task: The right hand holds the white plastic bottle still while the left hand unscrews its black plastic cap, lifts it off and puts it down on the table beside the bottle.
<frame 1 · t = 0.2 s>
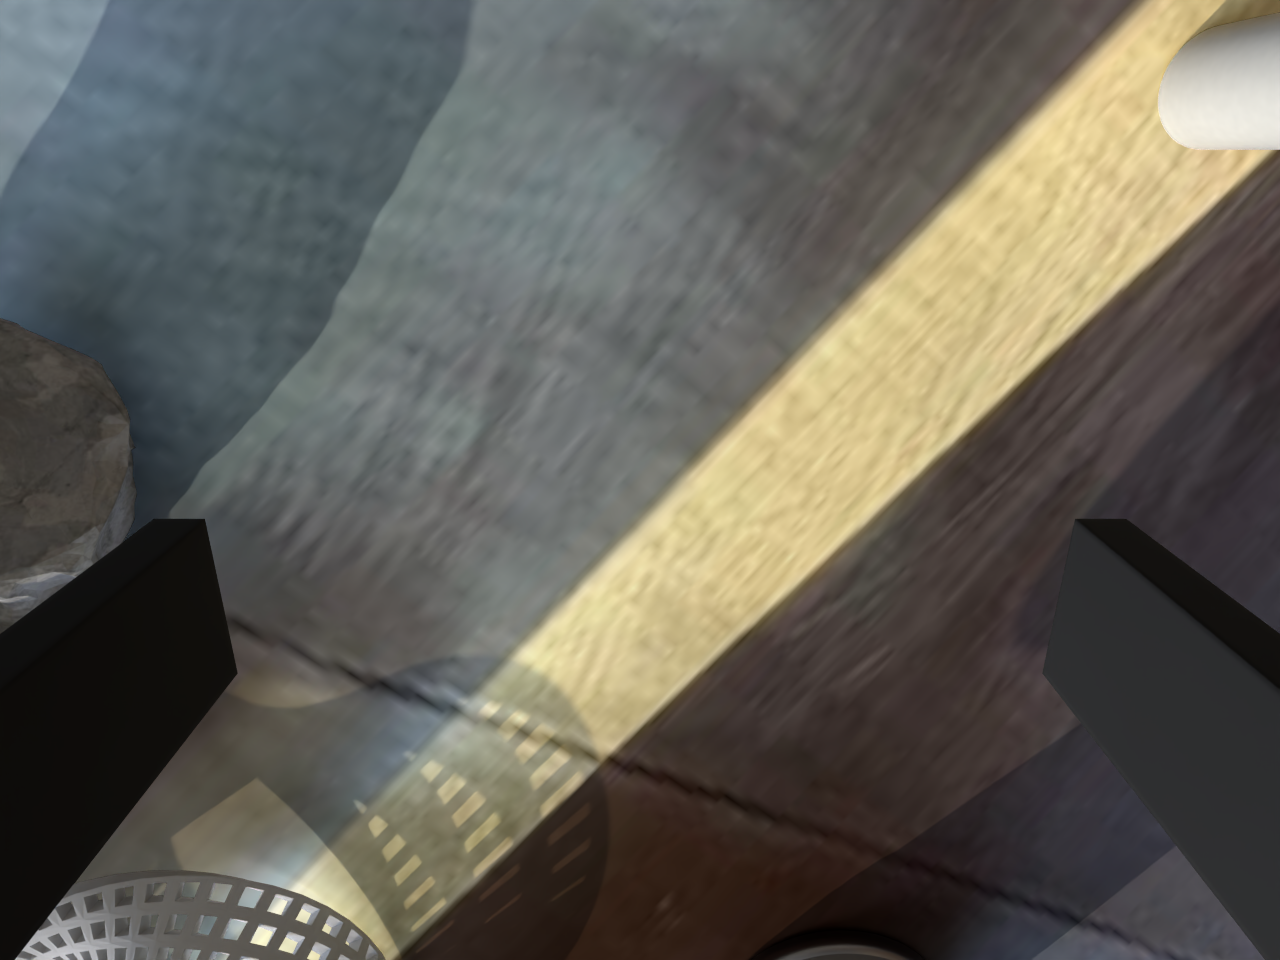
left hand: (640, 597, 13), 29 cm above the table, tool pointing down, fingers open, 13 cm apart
bottle: (1215, 88, 36), on the table
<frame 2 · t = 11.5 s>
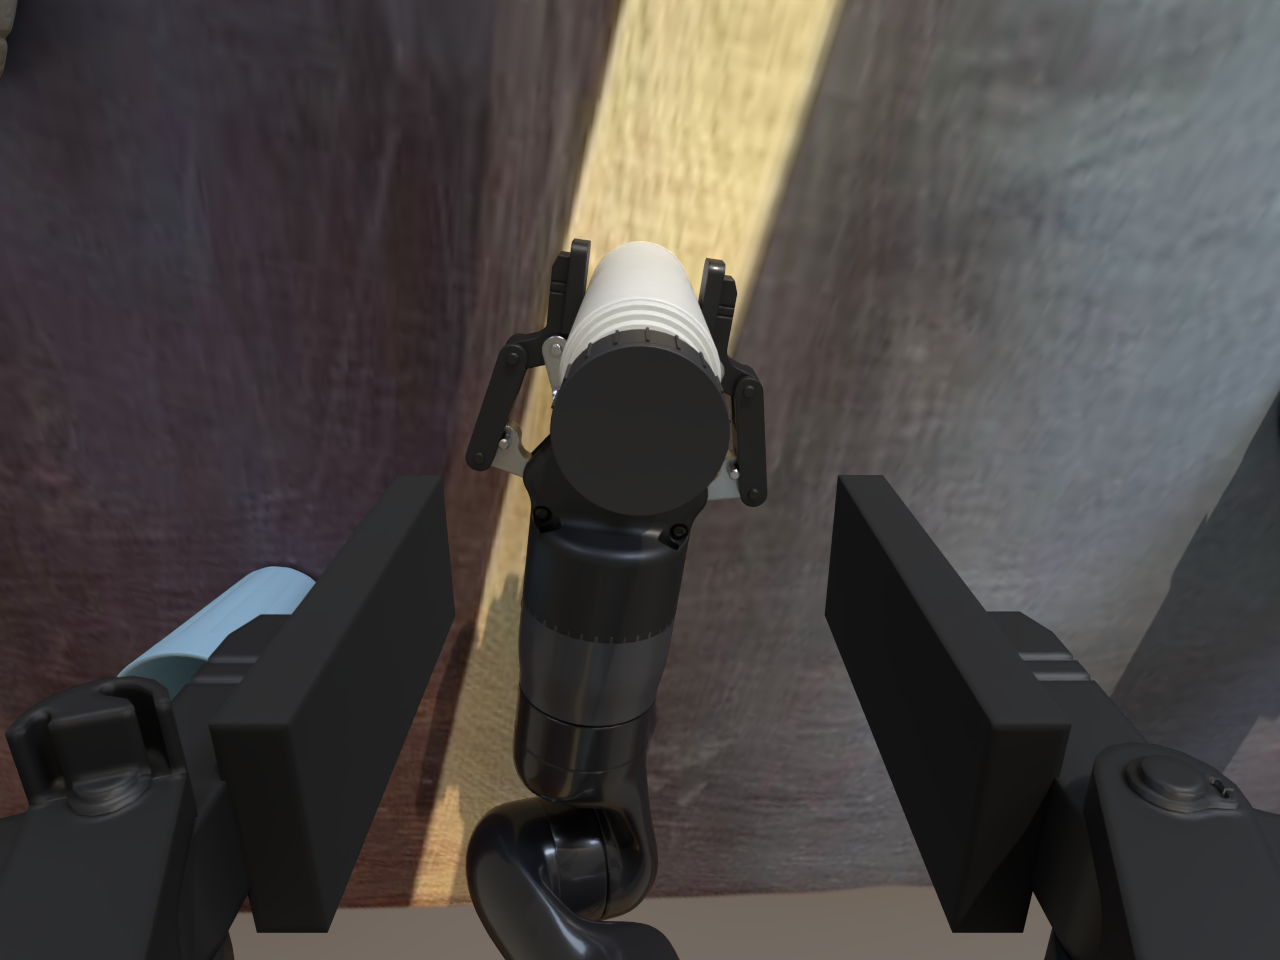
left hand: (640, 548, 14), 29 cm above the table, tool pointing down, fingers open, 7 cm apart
right hand: (647, 252, 34), fingers closed on bottle, 5 cm apart
cap: (640, 430, 20), point 22 cm above the table, screwed on, not yet turned
bottle: (639, 292, 41), on the table, touching right hand
cup: (285, 606, 47), on the table
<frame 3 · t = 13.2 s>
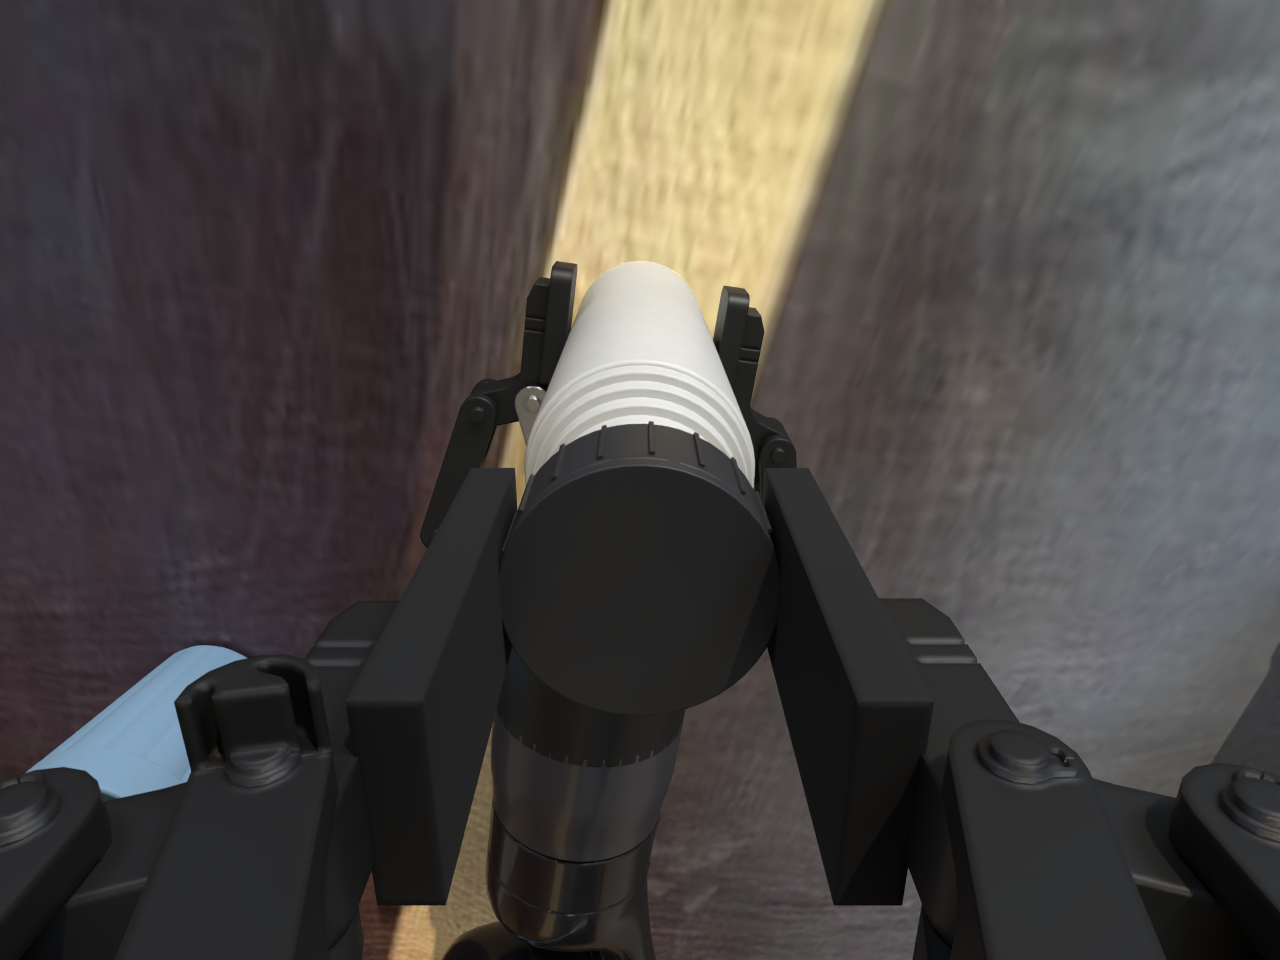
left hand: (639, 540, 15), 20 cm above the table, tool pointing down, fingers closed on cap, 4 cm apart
right hand: (650, 280, 27), fingers closed on bottle, 5 cm apart
cap: (639, 589, 13), point 22 cm above the table, screwed on, not yet turned, touching left hand
bottle: (639, 323, 33), on the table, touching right hand
cup: (219, 689, 40), on the table
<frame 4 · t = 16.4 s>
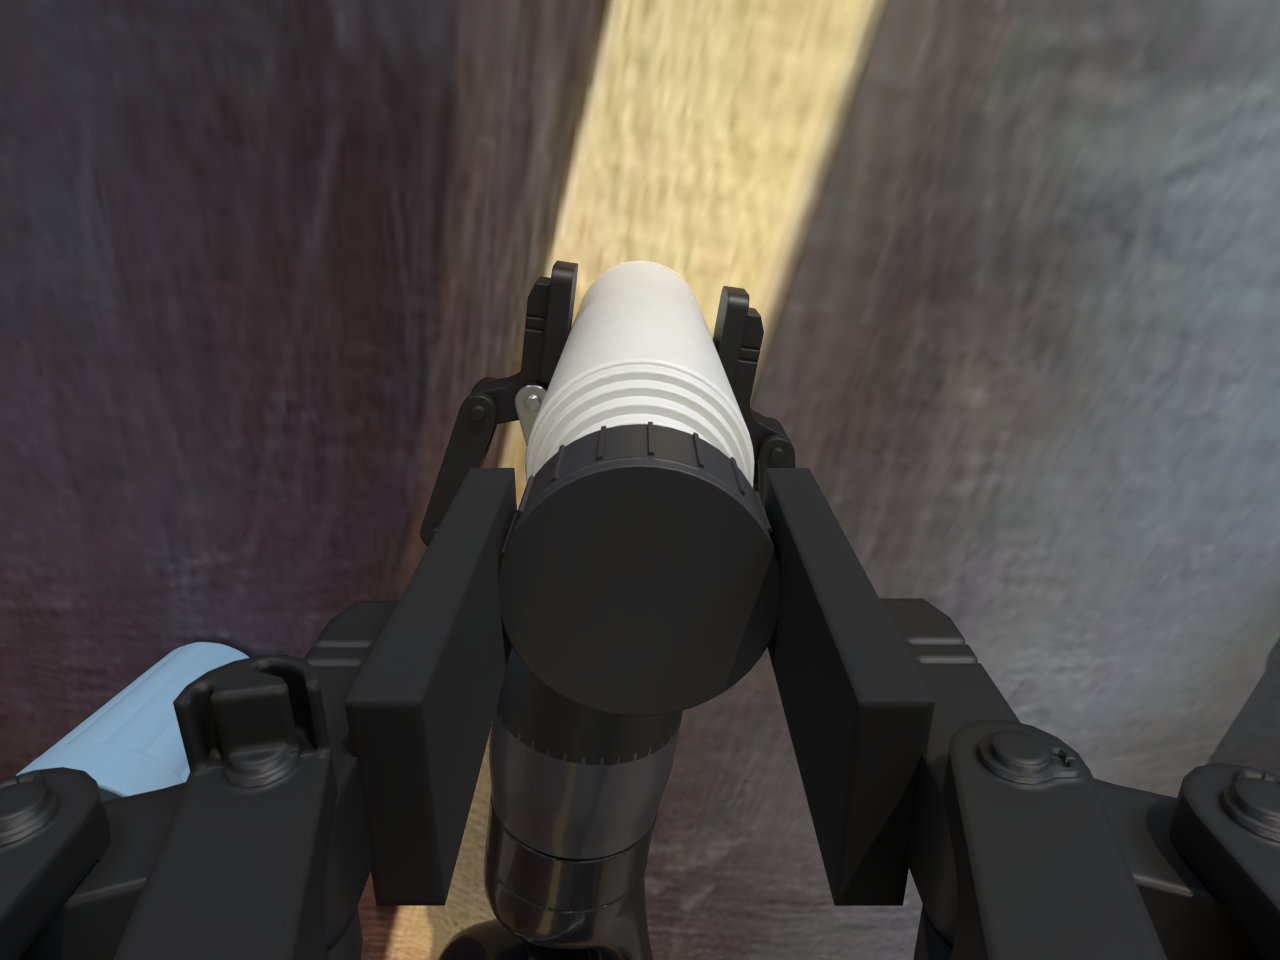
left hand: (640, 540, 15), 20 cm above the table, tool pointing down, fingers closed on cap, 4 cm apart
right hand: (650, 279, 27), fingers closed on bottle, 5 cm apart
cap: (639, 589, 13), point 22 cm above the table, turned 101° so far, risen 0.1 cm, still on its thread, touching left hand
bottle: (639, 323, 34), on the table, touching right hand
cup: (217, 686, 40), on the table
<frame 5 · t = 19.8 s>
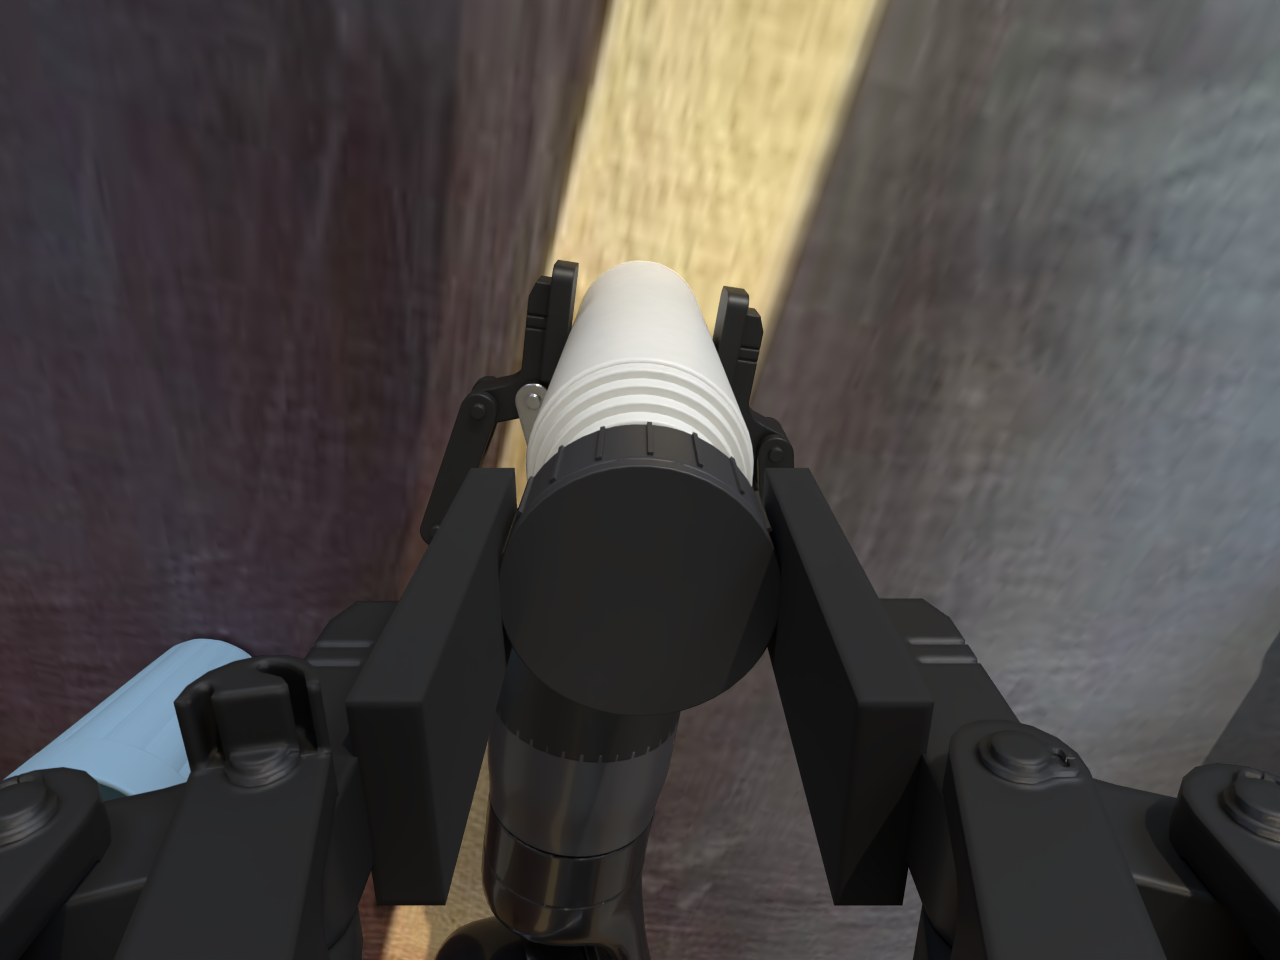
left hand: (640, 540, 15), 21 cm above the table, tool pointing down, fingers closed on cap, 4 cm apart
right hand: (650, 279, 27), fingers closed on bottle, 5 cm apart
cap: (639, 589, 13), point 22 cm above the table, turned 201° so far, risen 0.2 cm, still on its thread, touching left hand
bottle: (639, 322, 34), on the table, touching right hand
cup: (216, 683, 40), on the table
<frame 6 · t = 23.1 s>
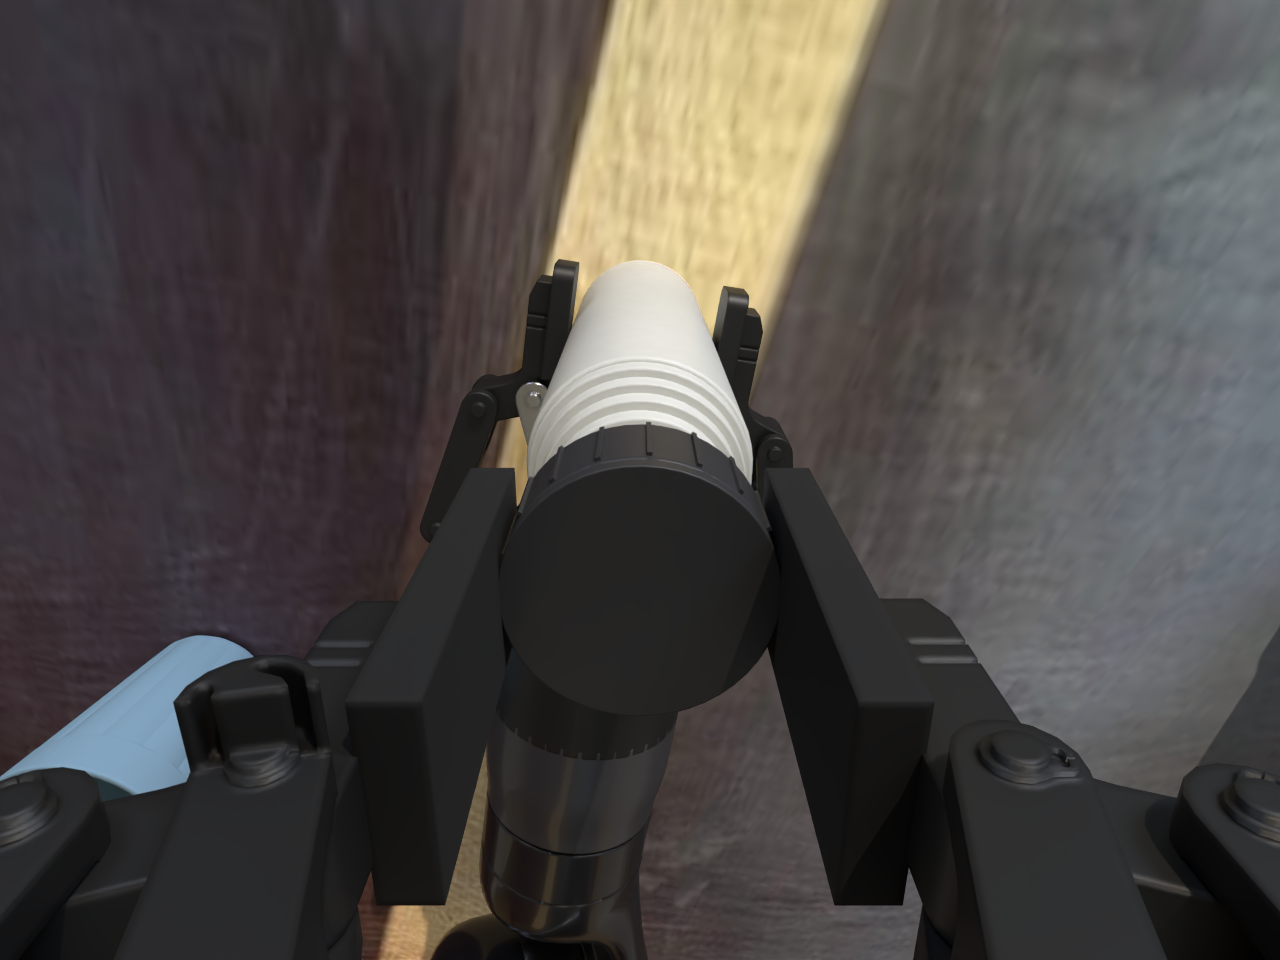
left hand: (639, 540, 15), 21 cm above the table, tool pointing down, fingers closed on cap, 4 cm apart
right hand: (651, 279, 27), fingers closed on bottle, 5 cm apart
cap: (639, 589, 13), point 22 cm above the table, turned 302° so far, risen 0.4 cm, still on its thread, touching left hand
bottle: (639, 322, 34), on the table, touching right hand
cup: (215, 680, 40), on the table
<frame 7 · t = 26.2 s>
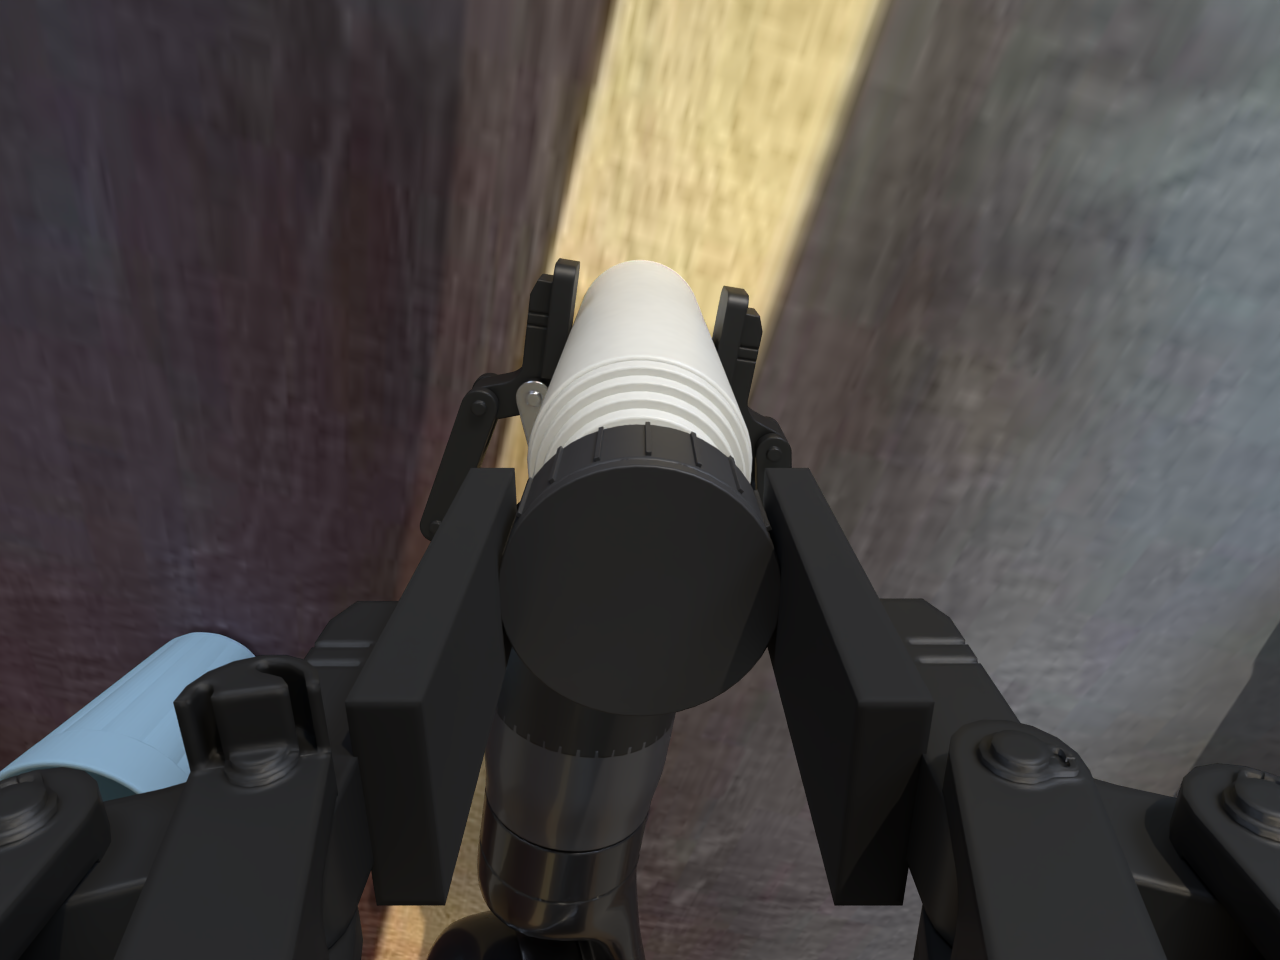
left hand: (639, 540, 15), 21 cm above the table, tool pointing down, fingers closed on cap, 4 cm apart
right hand: (651, 278, 27), fingers closed on bottle, 5 cm apart
cap: (639, 589, 13), point 23 cm above the table, turned 403° so far, risen 0.5 cm, still on its thread, touching left hand
bottle: (639, 321, 34), on the table, touching right hand
cup: (214, 676, 40), on the table
when the left hand's fingers open (1 cm above the table, at t = 32.3 s): cap drops 1 cm, point 2 cm above the table.
when the right hand's fingers open (6 cm above the table, at t = 33.6 s): bottle stays where it is, on the table.
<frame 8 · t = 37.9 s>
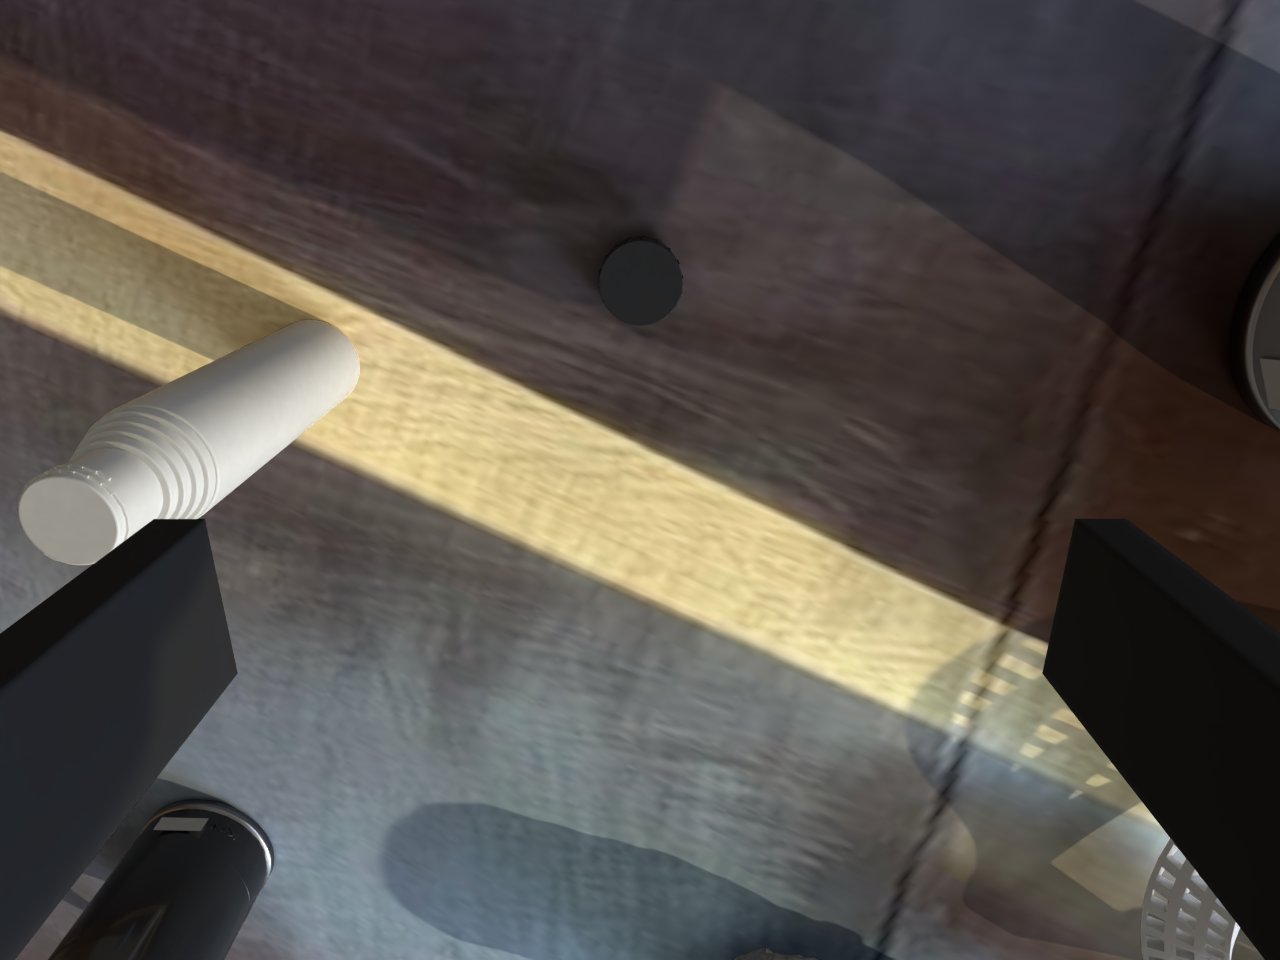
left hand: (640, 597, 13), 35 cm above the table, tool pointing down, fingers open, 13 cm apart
cap: (640, 283, 44), point 2 cm above the table, off its thread
bottle: (316, 362, 47), on the table
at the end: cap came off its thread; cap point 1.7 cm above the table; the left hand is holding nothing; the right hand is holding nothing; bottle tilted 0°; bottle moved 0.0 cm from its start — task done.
